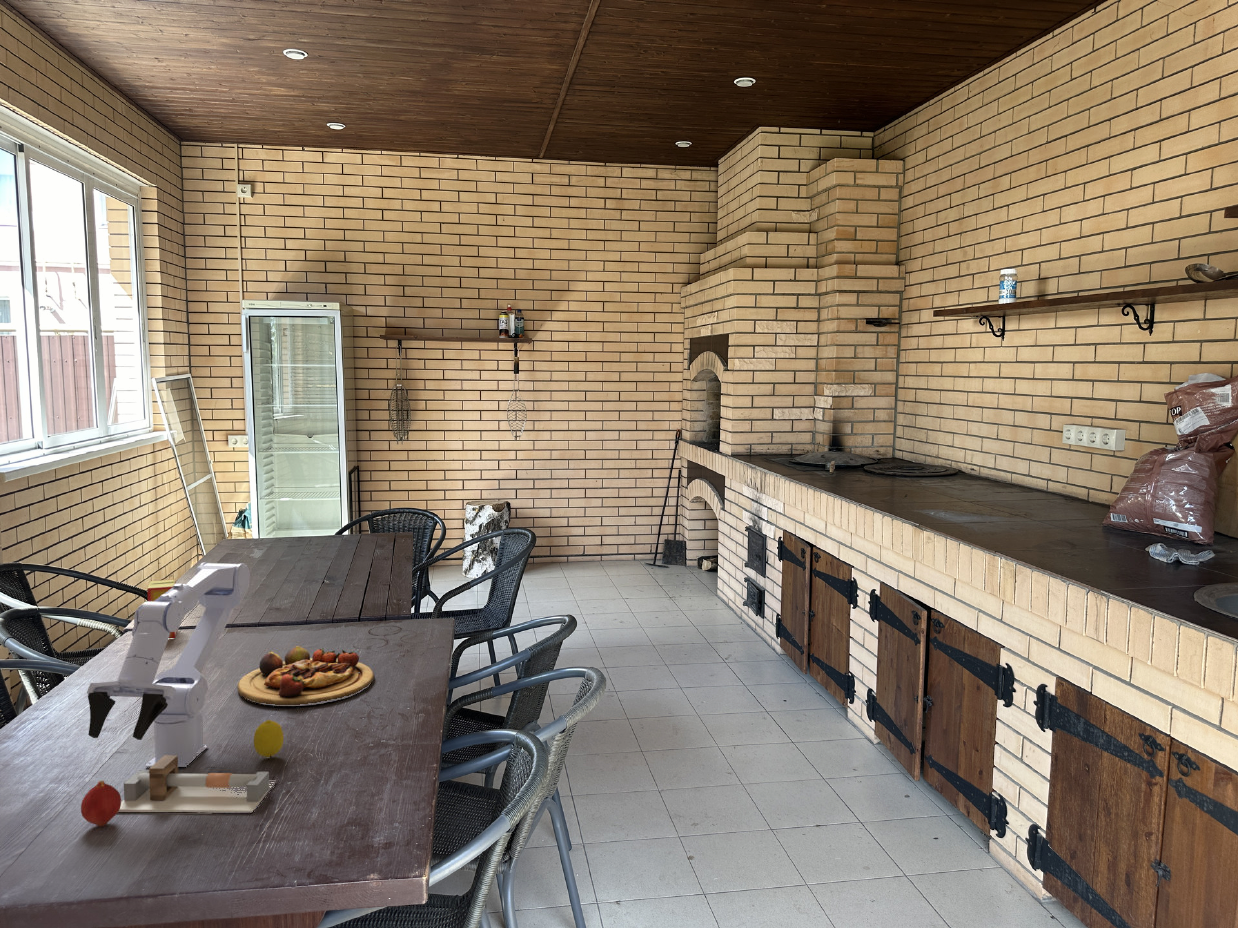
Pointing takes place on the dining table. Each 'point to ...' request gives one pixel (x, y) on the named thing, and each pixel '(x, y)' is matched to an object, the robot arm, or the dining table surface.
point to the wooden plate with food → (305, 677)
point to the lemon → (268, 738)
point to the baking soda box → (160, 592)
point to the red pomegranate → (101, 804)
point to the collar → (162, 777)
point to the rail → (197, 793)
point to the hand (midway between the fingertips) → (114, 737)
